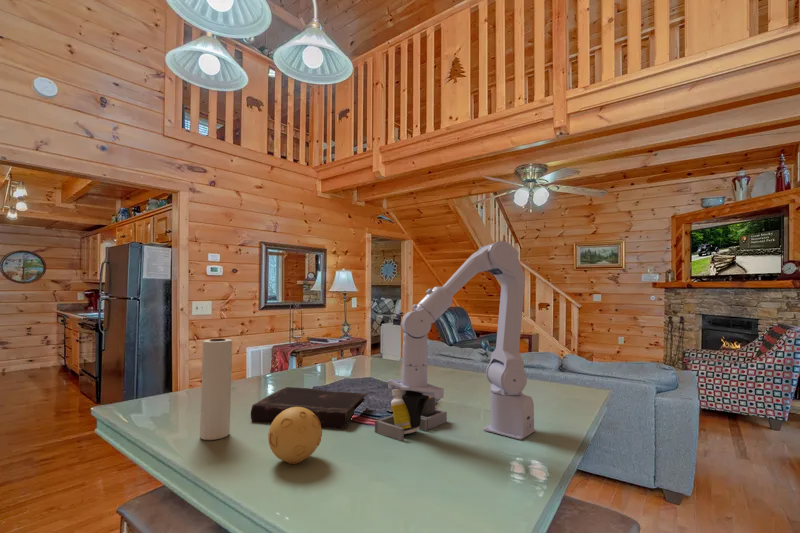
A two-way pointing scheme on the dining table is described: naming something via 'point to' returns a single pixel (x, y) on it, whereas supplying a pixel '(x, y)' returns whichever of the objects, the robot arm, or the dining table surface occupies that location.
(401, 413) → the supplement bottle
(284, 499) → the dining table surface
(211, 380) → the paper towel roll
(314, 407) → the diary
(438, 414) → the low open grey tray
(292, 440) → the stress ball
